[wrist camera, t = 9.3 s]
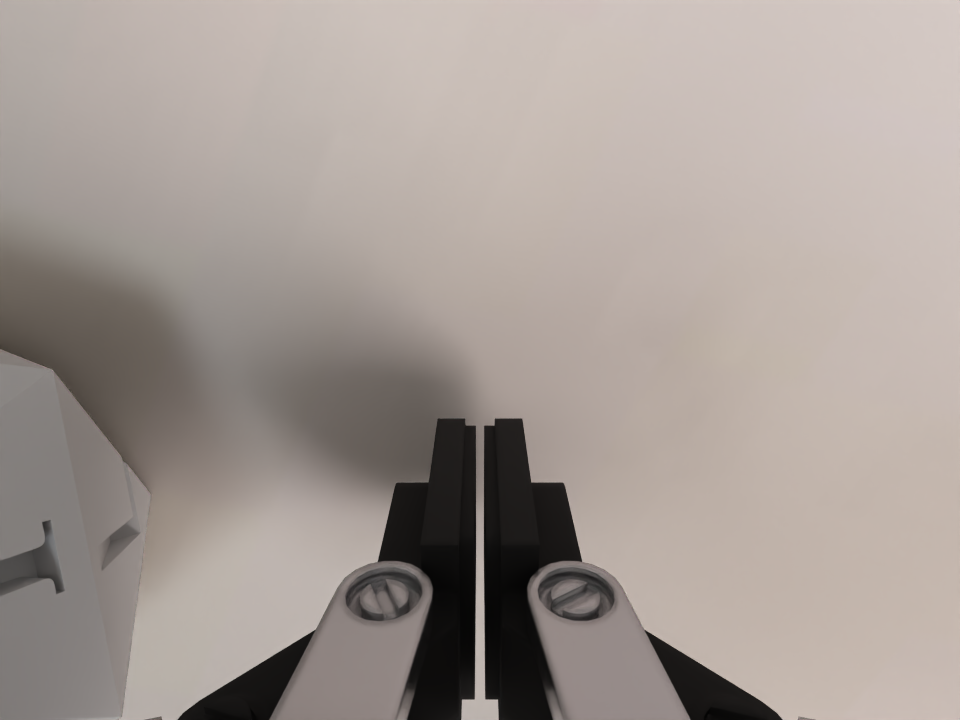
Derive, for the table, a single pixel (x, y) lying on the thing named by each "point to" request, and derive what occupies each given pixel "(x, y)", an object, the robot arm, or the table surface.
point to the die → (63, 553)
